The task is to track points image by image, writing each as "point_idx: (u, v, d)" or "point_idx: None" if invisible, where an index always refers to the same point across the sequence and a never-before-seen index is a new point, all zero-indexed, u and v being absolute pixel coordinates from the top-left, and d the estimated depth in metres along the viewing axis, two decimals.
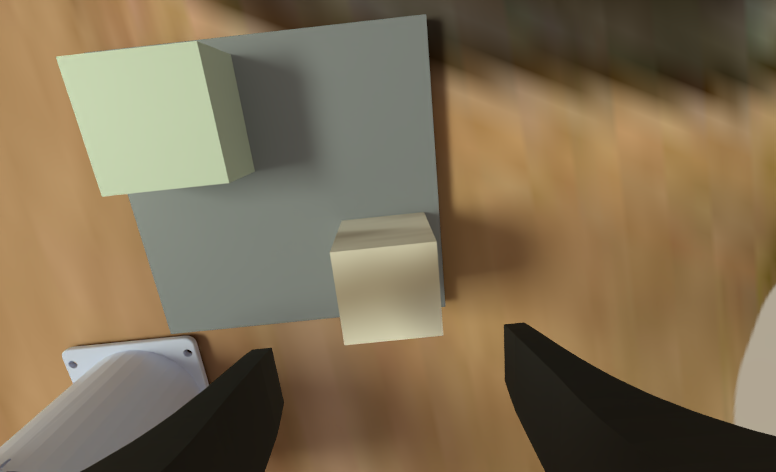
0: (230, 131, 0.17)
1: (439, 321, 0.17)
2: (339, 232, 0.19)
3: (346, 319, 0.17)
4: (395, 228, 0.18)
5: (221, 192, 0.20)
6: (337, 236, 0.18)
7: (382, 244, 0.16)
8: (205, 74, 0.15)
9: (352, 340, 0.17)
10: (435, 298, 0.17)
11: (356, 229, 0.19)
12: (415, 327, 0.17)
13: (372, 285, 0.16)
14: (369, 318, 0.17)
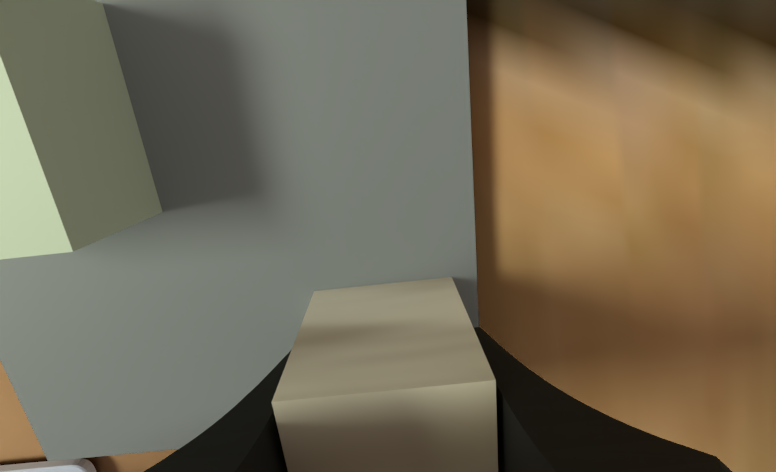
0: (88, 146, 0.09)
1: None
2: (304, 327, 0.10)
3: None
4: (405, 324, 0.10)
5: (107, 247, 0.12)
6: (298, 340, 0.10)
7: (381, 380, 0.08)
8: None
9: None
10: None
11: (335, 320, 0.10)
12: None
13: (362, 460, 0.08)
14: None
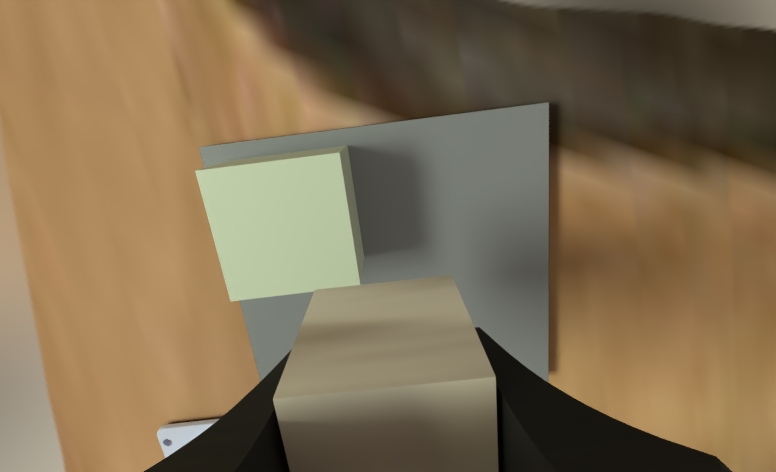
0: (355, 229, 0.17)
1: None
2: (305, 325, 0.10)
3: None
4: (405, 322, 0.10)
5: None
6: (299, 338, 0.10)
7: (381, 378, 0.08)
8: (344, 183, 0.15)
9: None
10: None
11: (336, 318, 0.10)
12: None
13: (363, 456, 0.08)
14: None
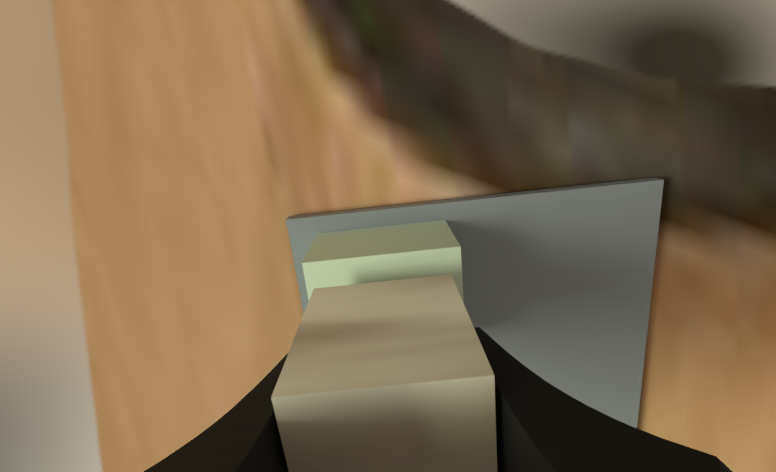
0: None
1: None
2: (303, 324, 0.10)
3: None
4: (404, 320, 0.10)
5: None
6: (297, 337, 0.10)
7: (380, 376, 0.08)
8: (461, 276, 0.14)
9: None
10: None
11: (334, 316, 0.10)
12: None
13: (361, 455, 0.08)
14: None
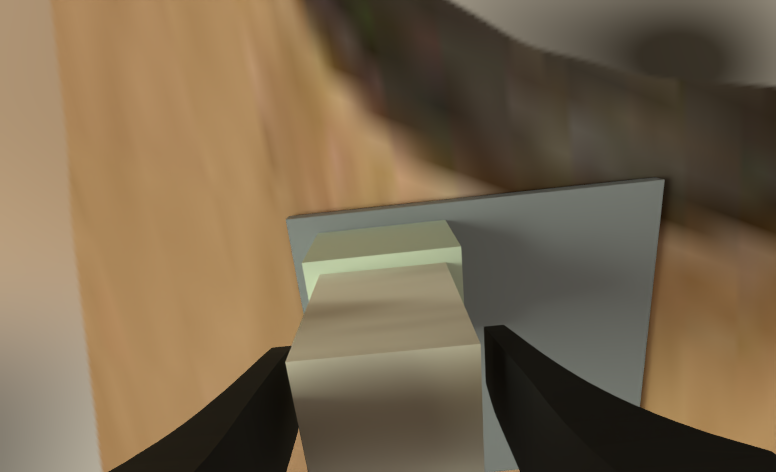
0: None
1: (479, 471, 0.10)
2: (311, 304, 0.11)
3: (318, 468, 0.10)
4: (402, 300, 0.11)
5: None
6: (306, 314, 0.11)
7: (381, 345, 0.09)
8: (461, 276, 0.14)
9: None
10: (475, 436, 0.09)
11: (339, 298, 0.12)
12: None
13: (363, 415, 0.09)
14: (357, 466, 0.10)
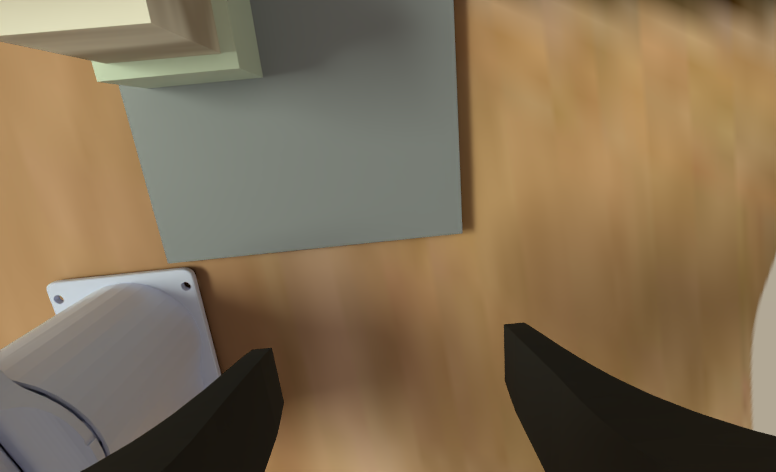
0: (240, 17, 0.16)
1: None
2: None
3: None
4: None
5: (225, 101, 0.19)
6: None
7: None
8: None
9: None
10: None
11: None
12: (99, 3, 0.10)
13: None
14: None
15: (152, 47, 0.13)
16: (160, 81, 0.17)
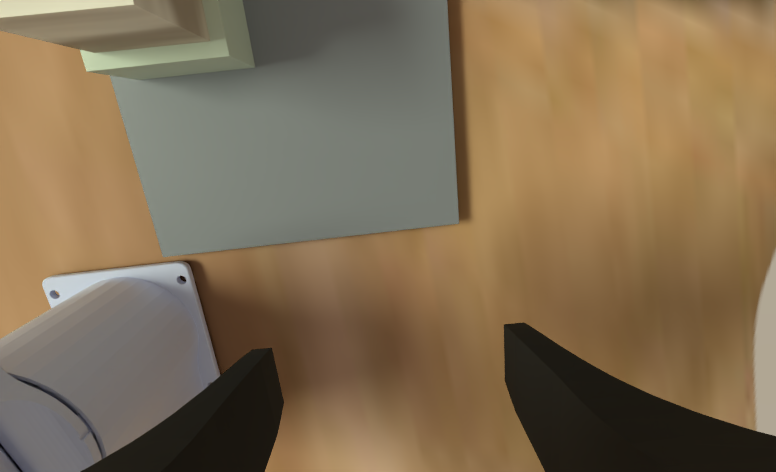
0: (230, 5, 0.16)
1: None
2: None
3: None
4: None
5: (218, 92, 0.19)
6: None
7: None
8: None
9: None
10: None
11: None
12: None
13: None
14: None
15: (139, 33, 0.13)
16: (151, 71, 0.16)
